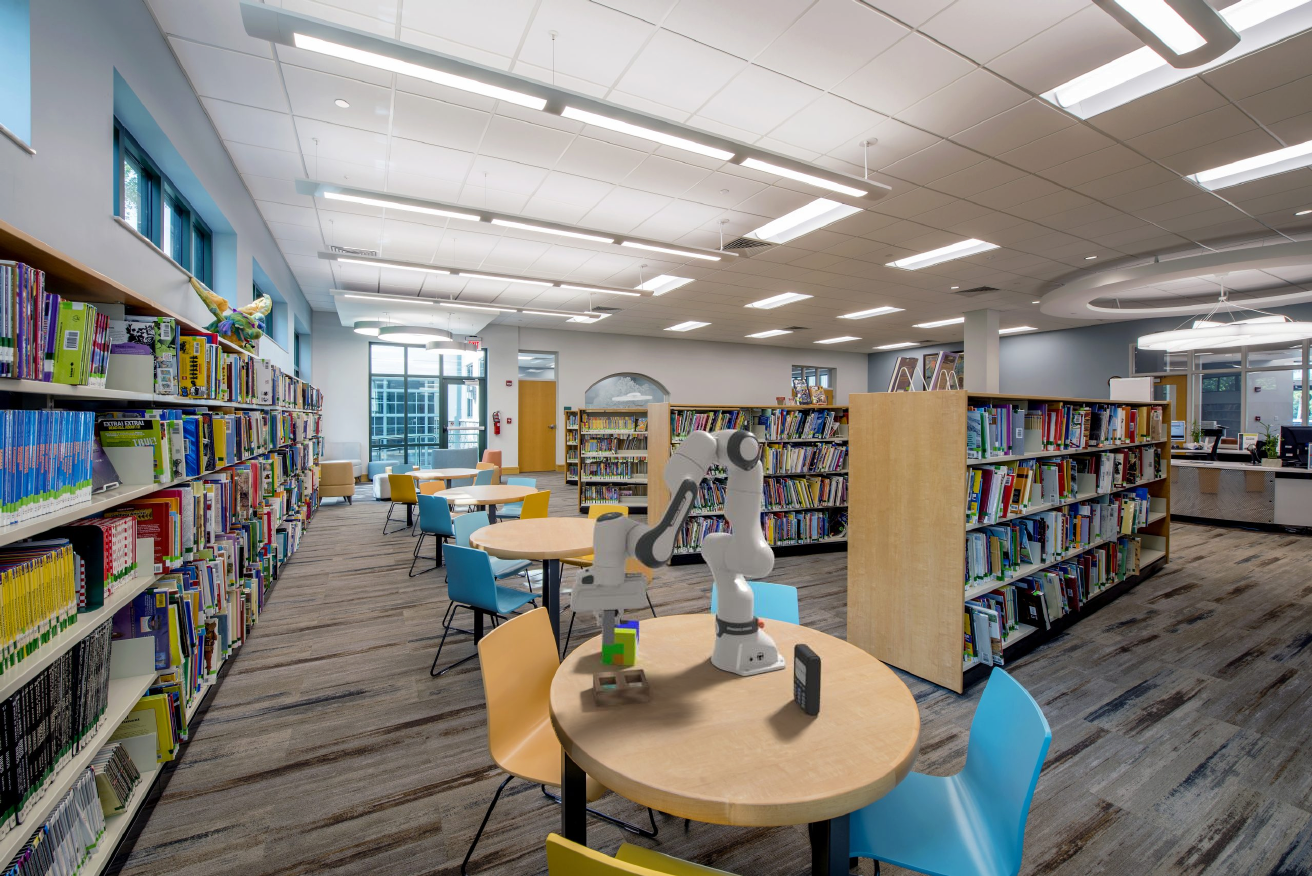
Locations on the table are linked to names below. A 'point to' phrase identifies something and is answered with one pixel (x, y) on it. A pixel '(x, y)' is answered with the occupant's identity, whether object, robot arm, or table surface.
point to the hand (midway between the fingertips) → (608, 625)
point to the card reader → (807, 679)
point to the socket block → (620, 687)
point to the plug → (608, 627)
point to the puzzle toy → (623, 645)
